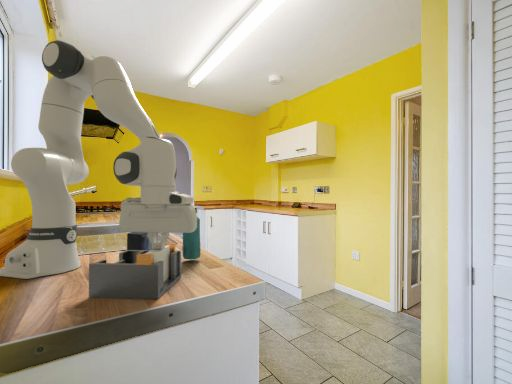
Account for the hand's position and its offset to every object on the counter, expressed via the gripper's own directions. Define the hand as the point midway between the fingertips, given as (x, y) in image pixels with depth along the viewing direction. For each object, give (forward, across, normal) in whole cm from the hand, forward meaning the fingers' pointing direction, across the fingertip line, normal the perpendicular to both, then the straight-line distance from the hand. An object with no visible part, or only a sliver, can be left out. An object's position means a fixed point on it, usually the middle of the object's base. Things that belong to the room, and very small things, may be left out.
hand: (158, 249), depth 65 cm
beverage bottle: (+10, +1, +25) cm, 27 cm away
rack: (+10, -5, 0) cm, 11 cm away
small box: (+10, -19, +28) cm, 35 cm away
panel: (+9, 0, 0) cm, 9 cm away
